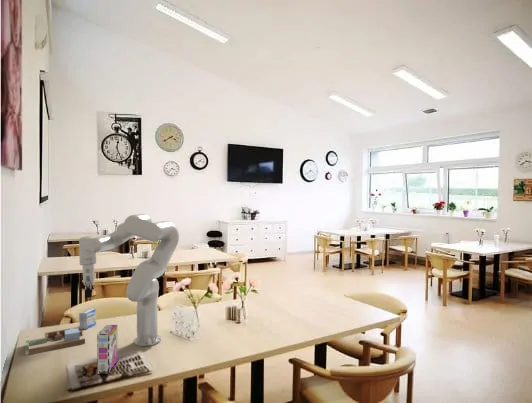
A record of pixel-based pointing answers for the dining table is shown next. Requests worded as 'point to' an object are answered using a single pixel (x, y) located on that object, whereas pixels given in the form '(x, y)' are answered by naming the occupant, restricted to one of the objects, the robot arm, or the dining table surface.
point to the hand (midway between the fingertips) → (88, 294)
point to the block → (72, 334)
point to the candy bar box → (107, 348)
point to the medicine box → (87, 318)
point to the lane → (52, 336)
